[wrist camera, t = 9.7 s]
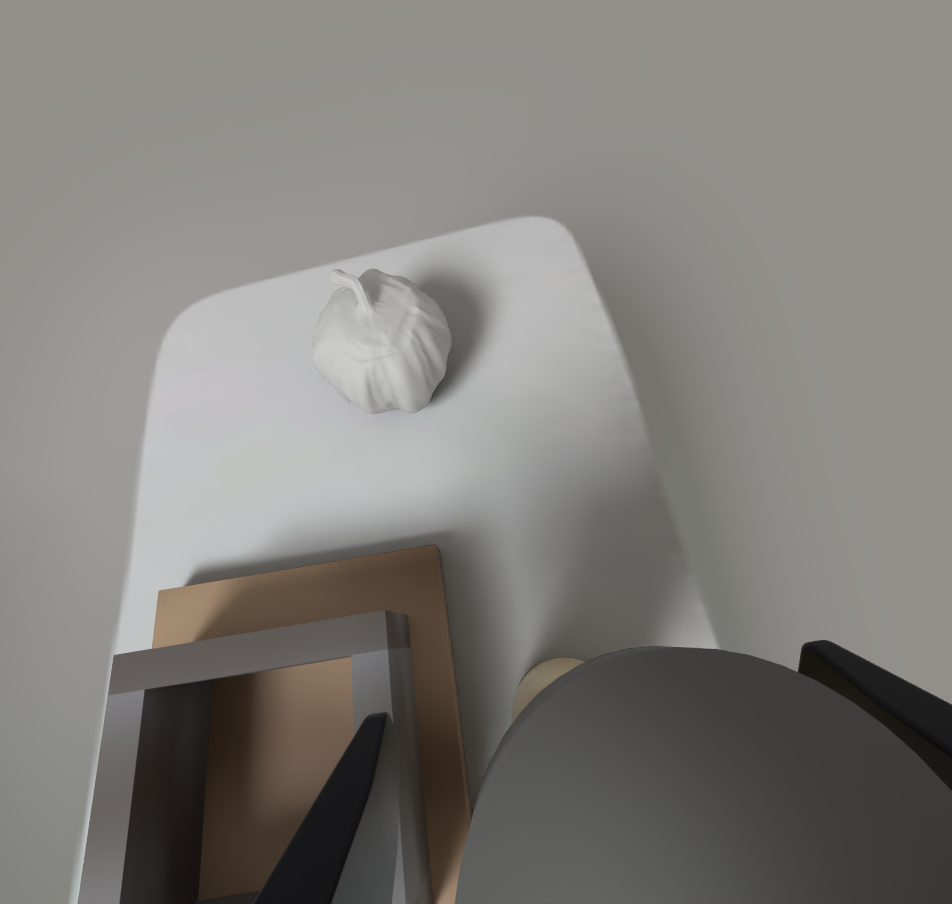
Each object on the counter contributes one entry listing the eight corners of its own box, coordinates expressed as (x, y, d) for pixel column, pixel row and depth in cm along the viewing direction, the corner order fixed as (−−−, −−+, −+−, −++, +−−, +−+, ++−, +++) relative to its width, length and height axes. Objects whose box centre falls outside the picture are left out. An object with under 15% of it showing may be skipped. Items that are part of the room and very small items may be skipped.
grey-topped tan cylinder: (660, 792, 14) (1281, 1435, 3) (510, 816, 14) (504, 1554, 3) (618, 631, 15) (887, 612, 4) (486, 653, 16) (423, 688, 4)
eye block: (492, 986, 12) (484, 1135, 9) (132, 1044, 12) (-28, 1216, 9) (439, 549, 17) (419, 524, 13) (177, 593, 17) (85, 580, 13)
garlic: (322, 343, 21) (267, 256, 16) (432, 305, 21) (409, 209, 17) (354, 454, 19) (301, 390, 14) (476, 409, 19) (465, 333, 14)
